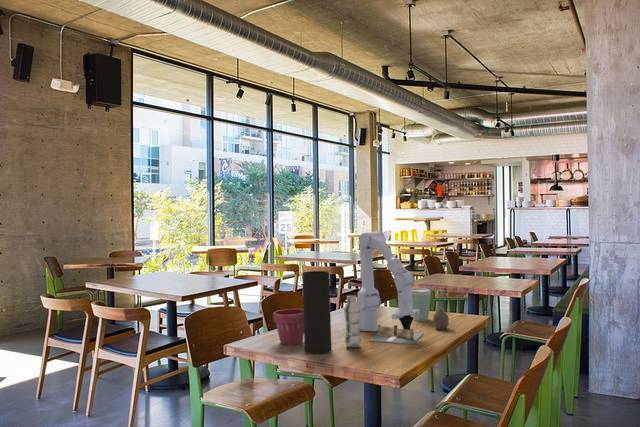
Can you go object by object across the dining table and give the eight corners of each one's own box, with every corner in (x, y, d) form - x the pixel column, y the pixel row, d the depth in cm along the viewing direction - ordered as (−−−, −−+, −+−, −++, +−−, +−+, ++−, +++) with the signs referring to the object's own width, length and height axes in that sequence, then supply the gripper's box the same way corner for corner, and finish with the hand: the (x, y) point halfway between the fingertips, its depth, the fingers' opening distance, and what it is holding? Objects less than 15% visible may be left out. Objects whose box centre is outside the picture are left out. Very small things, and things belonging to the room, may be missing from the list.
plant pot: (269, 341, 224) (268, 310, 224) (301, 337, 230) (300, 307, 230) (280, 348, 211) (279, 315, 211) (313, 344, 217) (312, 312, 217)
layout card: (369, 341, 218) (369, 340, 218) (382, 331, 235) (382, 330, 235) (412, 344, 211) (412, 343, 211) (423, 334, 228) (423, 332, 228)
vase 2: (449, 330, 233) (448, 310, 233) (433, 330, 235) (432, 310, 235) (448, 327, 240) (448, 307, 240) (433, 327, 242) (432, 307, 242)
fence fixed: (377, 335, 228) (377, 324, 228) (378, 334, 229) (378, 324, 229) (397, 337, 224) (396, 326, 224) (398, 336, 226) (397, 325, 226)
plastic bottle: (350, 350, 205) (348, 297, 205) (341, 346, 211) (340, 295, 211) (364, 347, 208) (363, 296, 208) (355, 344, 214) (354, 294, 214)
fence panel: (396, 335, 224) (396, 326, 224) (399, 335, 225) (398, 326, 225) (412, 339, 217) (411, 330, 217) (414, 338, 217) (414, 329, 217)
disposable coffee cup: (435, 318, 260) (434, 287, 260) (427, 322, 251) (426, 290, 251) (414, 317, 266) (413, 286, 266) (406, 321, 257) (405, 289, 257)
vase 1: (310, 355, 199) (308, 274, 199) (300, 349, 208) (298, 272, 208) (335, 351, 203) (333, 272, 203) (324, 346, 212) (322, 270, 212)
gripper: (400, 304, 214) (401, 338, 214) (424, 300, 223) (425, 332, 223) (387, 302, 220) (388, 336, 220) (411, 298, 229) (413, 330, 228)
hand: (406, 334), depth 222 cm, fingers closed, pressing on fence panel
